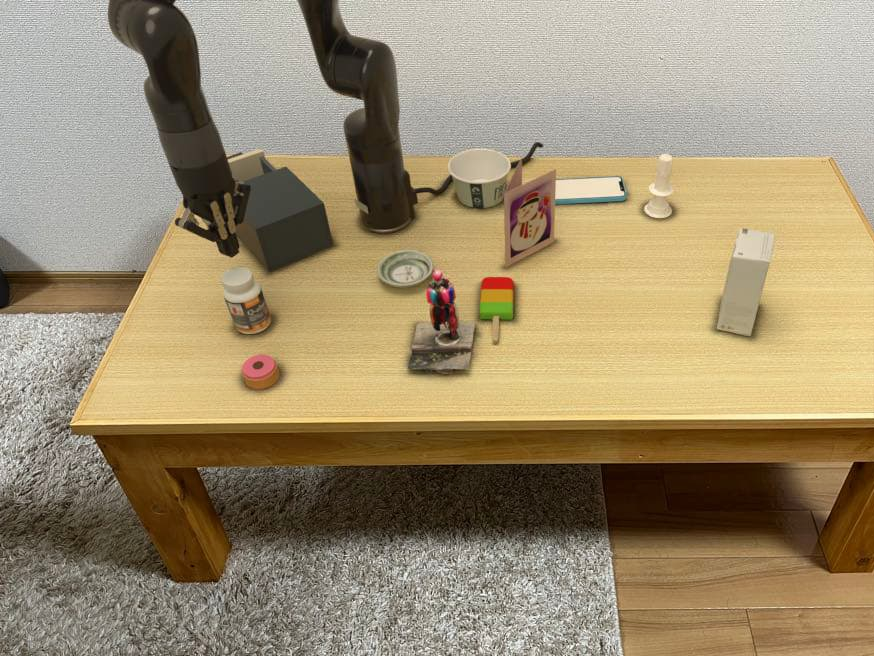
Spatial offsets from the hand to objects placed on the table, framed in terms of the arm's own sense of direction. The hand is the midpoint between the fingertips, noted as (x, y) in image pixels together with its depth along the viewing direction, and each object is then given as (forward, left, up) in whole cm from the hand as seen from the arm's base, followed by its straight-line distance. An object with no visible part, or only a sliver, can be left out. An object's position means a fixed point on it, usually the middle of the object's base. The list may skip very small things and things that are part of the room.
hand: (231, 253), depth 118 cm
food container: (-50, -6, -13) cm, 52 cm away
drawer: (-13, -29, -11) cm, 34 cm away
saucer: (-25, +7, -13) cm, 29 cm away
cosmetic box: (-63, +49, -13) cm, 81 cm away
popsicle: (-32, +24, -13) cm, 42 cm away
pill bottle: (+1, +2, -13) cm, 13 cm away
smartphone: (-67, +6, -13) cm, 69 cm away
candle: (-74, +19, -13) cm, 78 cm away
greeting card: (-46, +12, -13) cm, 49 cm away
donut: (+5, +14, -12) cm, 19 cm away
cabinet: (-13, -16, -12) cm, 24 cm away
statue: (-20, +26, -13) cm, 35 cm away
